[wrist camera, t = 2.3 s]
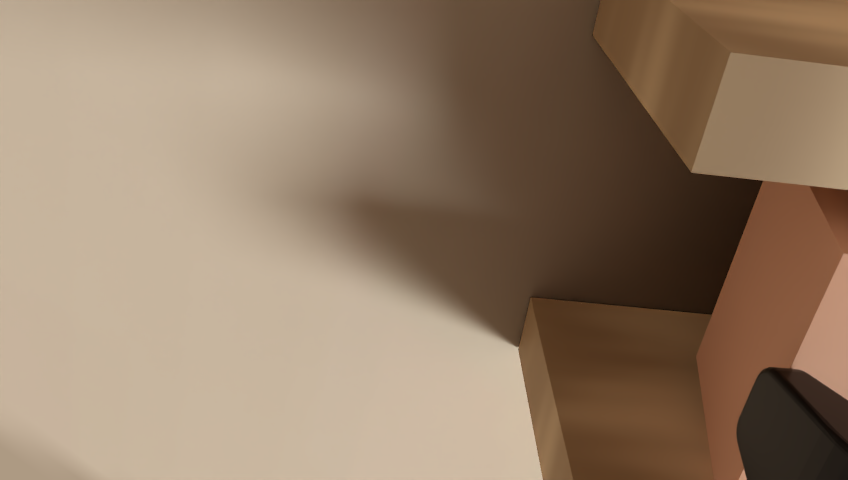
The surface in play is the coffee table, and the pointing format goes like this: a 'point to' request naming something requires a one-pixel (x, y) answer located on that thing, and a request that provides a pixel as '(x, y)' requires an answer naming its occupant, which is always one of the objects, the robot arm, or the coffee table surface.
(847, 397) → the salmon orange block
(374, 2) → the coffee table surface
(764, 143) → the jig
